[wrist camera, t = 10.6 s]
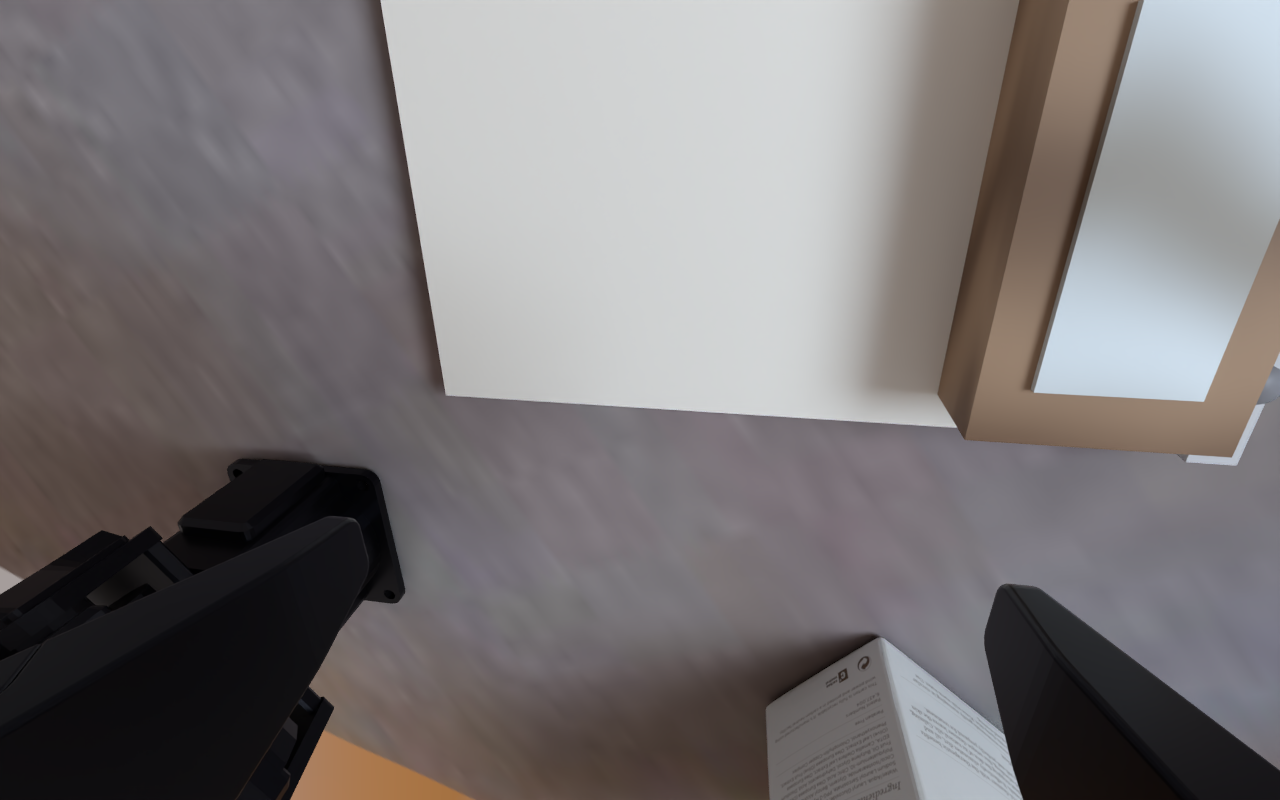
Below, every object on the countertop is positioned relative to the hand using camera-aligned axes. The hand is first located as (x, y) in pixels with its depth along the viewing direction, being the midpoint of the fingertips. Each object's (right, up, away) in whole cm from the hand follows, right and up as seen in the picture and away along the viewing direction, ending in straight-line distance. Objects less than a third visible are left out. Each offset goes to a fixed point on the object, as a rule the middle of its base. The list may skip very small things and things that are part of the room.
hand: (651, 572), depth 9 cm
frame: (+12, +7, +7) cm, 15 cm away
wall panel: (+5, +8, +9) cm, 13 cm away
